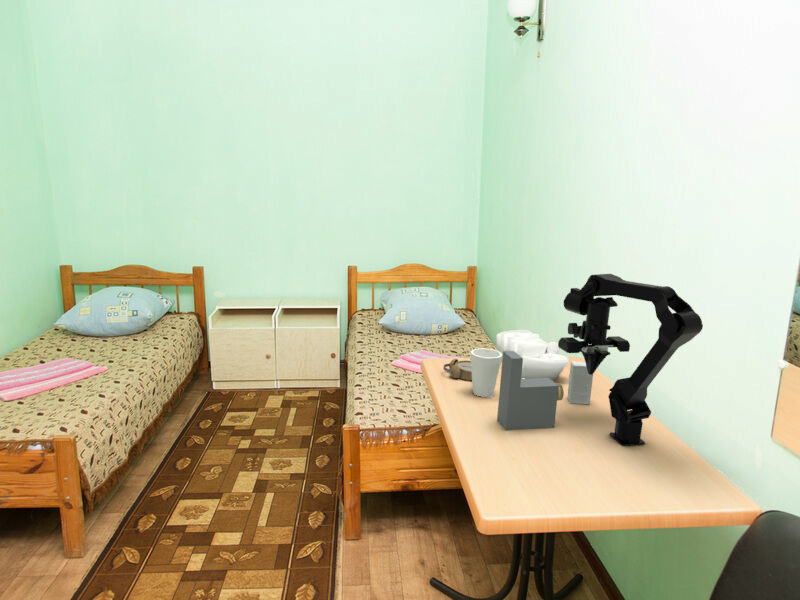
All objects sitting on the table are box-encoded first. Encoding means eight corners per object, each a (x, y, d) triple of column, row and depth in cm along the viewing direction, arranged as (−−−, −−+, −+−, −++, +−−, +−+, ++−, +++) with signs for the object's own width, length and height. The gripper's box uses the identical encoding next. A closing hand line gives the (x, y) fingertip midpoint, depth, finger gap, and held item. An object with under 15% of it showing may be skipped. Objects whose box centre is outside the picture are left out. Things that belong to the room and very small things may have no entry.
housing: (554, 427, 153) (562, 357, 148) (505, 430, 150) (512, 358, 145) (544, 418, 158) (551, 349, 154) (496, 420, 155) (503, 351, 151)
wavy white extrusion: (489, 351, 215) (491, 324, 213) (530, 351, 218) (532, 324, 216) (524, 386, 182) (527, 355, 180) (572, 385, 185) (575, 354, 182)
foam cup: (496, 401, 169) (500, 360, 166) (465, 397, 171) (468, 356, 168) (499, 390, 178) (503, 350, 175) (470, 386, 180) (473, 346, 177)
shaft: (562, 403, 152) (564, 387, 151) (518, 405, 150) (519, 388, 149) (554, 396, 157) (556, 380, 156) (511, 398, 154) (512, 382, 153)
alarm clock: (491, 374, 183) (446, 364, 182) (487, 388, 184) (442, 378, 184) (487, 362, 194) (444, 353, 193) (483, 376, 195) (441, 366, 195)
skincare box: (586, 399, 173) (591, 362, 170) (589, 405, 169) (594, 367, 166) (566, 397, 174) (570, 360, 171) (569, 403, 170) (573, 365, 167)
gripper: (611, 311, 163) (604, 363, 167) (551, 312, 159) (546, 365, 163) (634, 322, 153) (626, 376, 156) (571, 323, 149) (564, 379, 152)
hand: (590, 374), depth 157 cm, fingers closed
